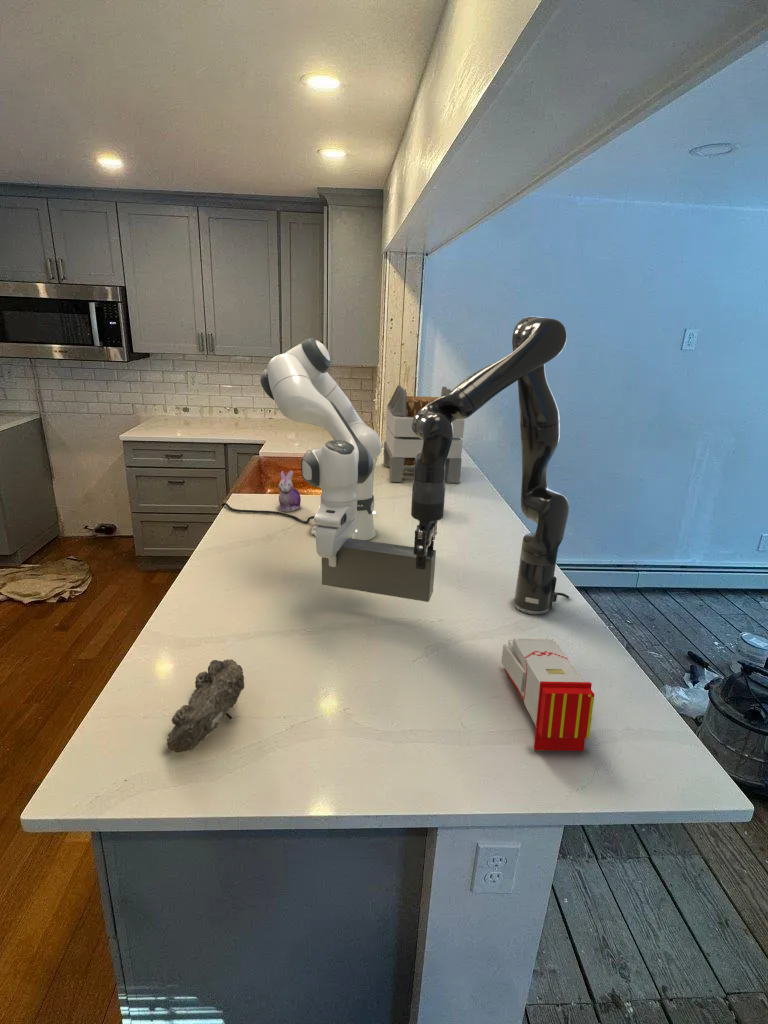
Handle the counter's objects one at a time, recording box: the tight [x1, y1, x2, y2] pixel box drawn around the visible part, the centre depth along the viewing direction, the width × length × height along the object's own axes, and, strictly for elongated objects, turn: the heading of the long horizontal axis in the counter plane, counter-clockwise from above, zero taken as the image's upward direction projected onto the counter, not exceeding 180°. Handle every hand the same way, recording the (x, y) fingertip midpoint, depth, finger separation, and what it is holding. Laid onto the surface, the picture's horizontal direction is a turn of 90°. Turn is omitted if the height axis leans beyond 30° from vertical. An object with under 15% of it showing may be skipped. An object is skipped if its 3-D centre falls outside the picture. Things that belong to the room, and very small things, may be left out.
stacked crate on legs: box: [383, 384, 466, 484], centre depth 268 cm, size 34×33×41 cm
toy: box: [500, 637, 595, 752], centre depth 114 cm, size 12×13×30 cm
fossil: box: [166, 658, 245, 754], centre depth 106 cm, size 22×10×15 cm
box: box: [321, 538, 437, 603], centre depth 140 cm, size 28×6×11 cm, turn 75°
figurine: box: [278, 469, 302, 513], centre depth 217 cm, size 9×10×15 cm
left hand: (338, 560), depth 143 cm, fingers closed on box, 6 cm apart
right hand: (424, 561), depth 136 cm, fingers open, 8 cm apart
